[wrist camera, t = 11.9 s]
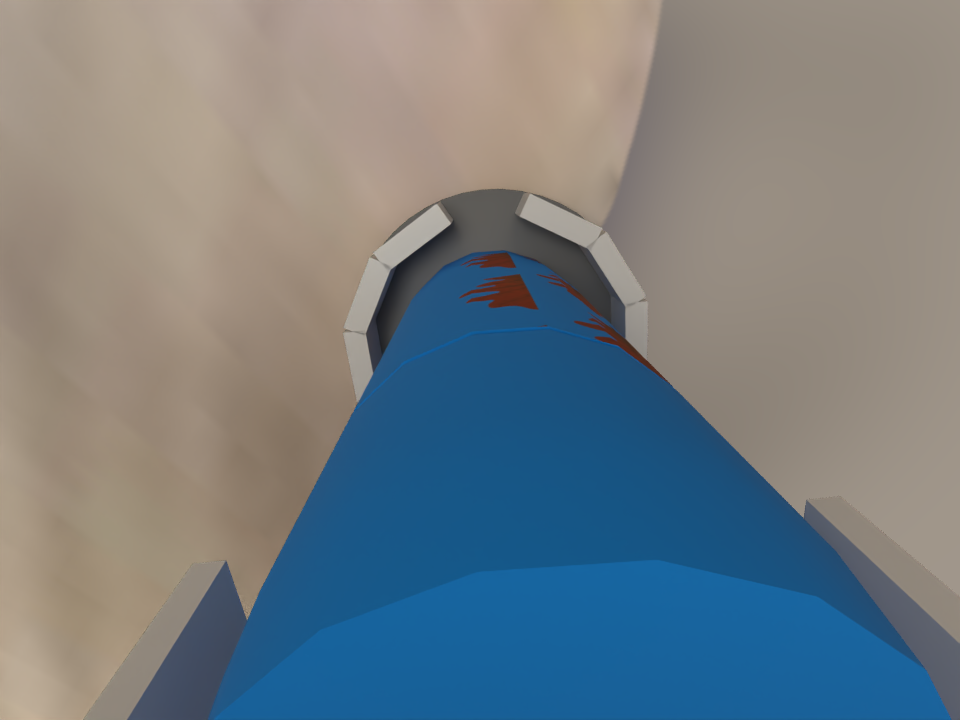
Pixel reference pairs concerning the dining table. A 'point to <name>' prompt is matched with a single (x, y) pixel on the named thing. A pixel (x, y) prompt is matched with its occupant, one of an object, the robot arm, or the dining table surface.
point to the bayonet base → (481, 228)
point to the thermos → (552, 545)
